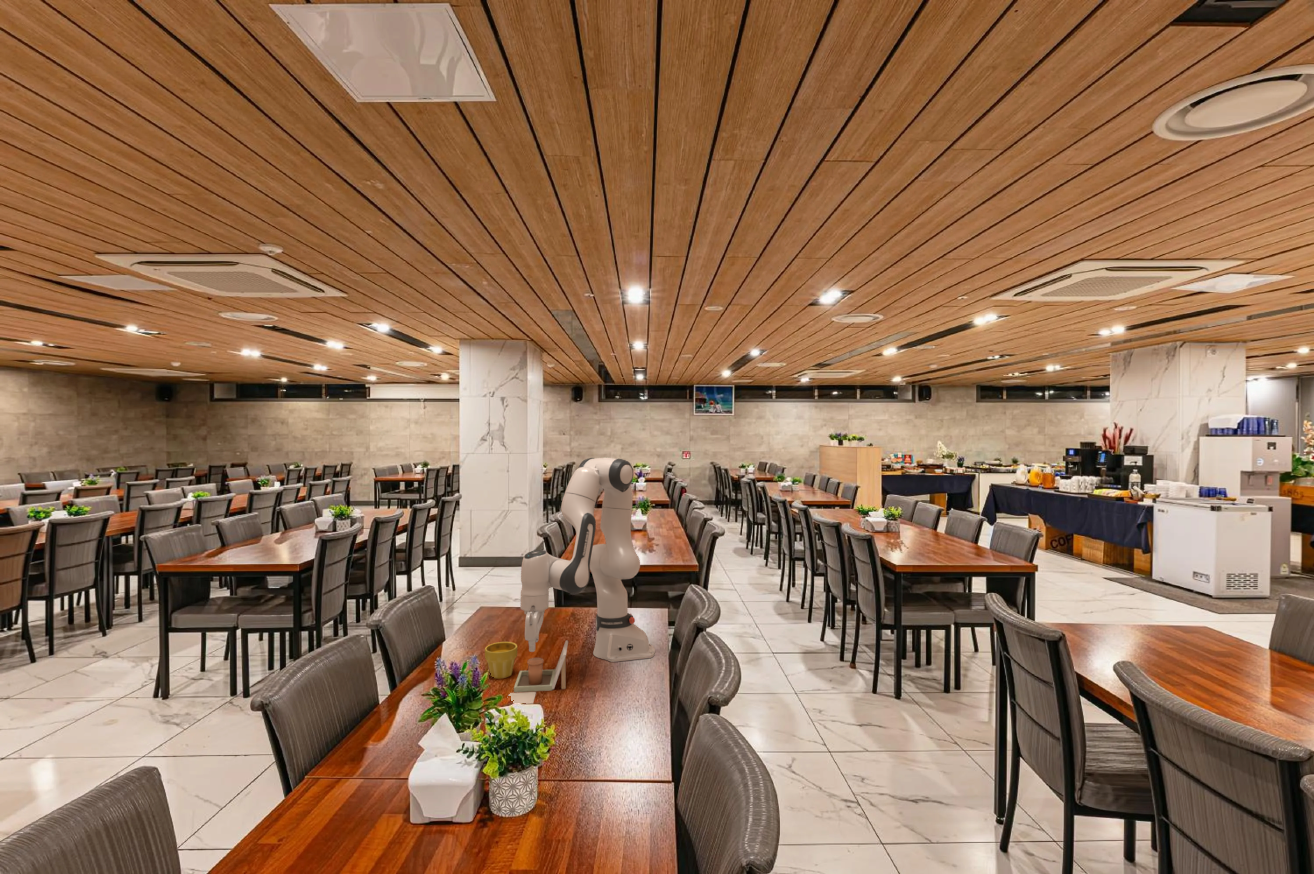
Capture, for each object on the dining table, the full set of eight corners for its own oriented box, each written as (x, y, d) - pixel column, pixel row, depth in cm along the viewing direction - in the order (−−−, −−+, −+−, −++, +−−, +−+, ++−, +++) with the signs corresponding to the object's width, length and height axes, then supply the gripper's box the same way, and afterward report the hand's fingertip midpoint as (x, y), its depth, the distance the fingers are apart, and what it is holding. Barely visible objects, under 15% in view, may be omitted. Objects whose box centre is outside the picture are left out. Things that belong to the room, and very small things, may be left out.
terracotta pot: (544, 678, 196) (544, 657, 196) (542, 685, 191) (542, 662, 191) (528, 679, 196) (528, 657, 196) (526, 685, 191) (526, 663, 191)
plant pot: (509, 683, 194) (508, 652, 194) (479, 681, 196) (479, 650, 197) (522, 671, 204) (522, 642, 205) (494, 669, 207) (493, 640, 207)
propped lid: (568, 674, 201) (568, 639, 201) (566, 691, 188) (565, 654, 188) (554, 675, 201) (554, 640, 201) (551, 692, 187) (551, 654, 187)
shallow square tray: (555, 675, 201) (555, 669, 201) (552, 692, 187) (552, 685, 187) (519, 676, 200) (519, 670, 200) (513, 693, 186) (513, 687, 186)
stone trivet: (536, 694, 186) (535, 691, 186) (533, 705, 178) (533, 702, 178) (509, 695, 185) (509, 692, 185) (505, 706, 177) (505, 704, 177)
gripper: (541, 610, 184) (540, 656, 183) (547, 594, 204) (546, 636, 204) (520, 610, 183) (519, 657, 183) (528, 595, 203) (527, 636, 203)
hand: (533, 646), depth 193 cm, fingers open, 8 cm apart
